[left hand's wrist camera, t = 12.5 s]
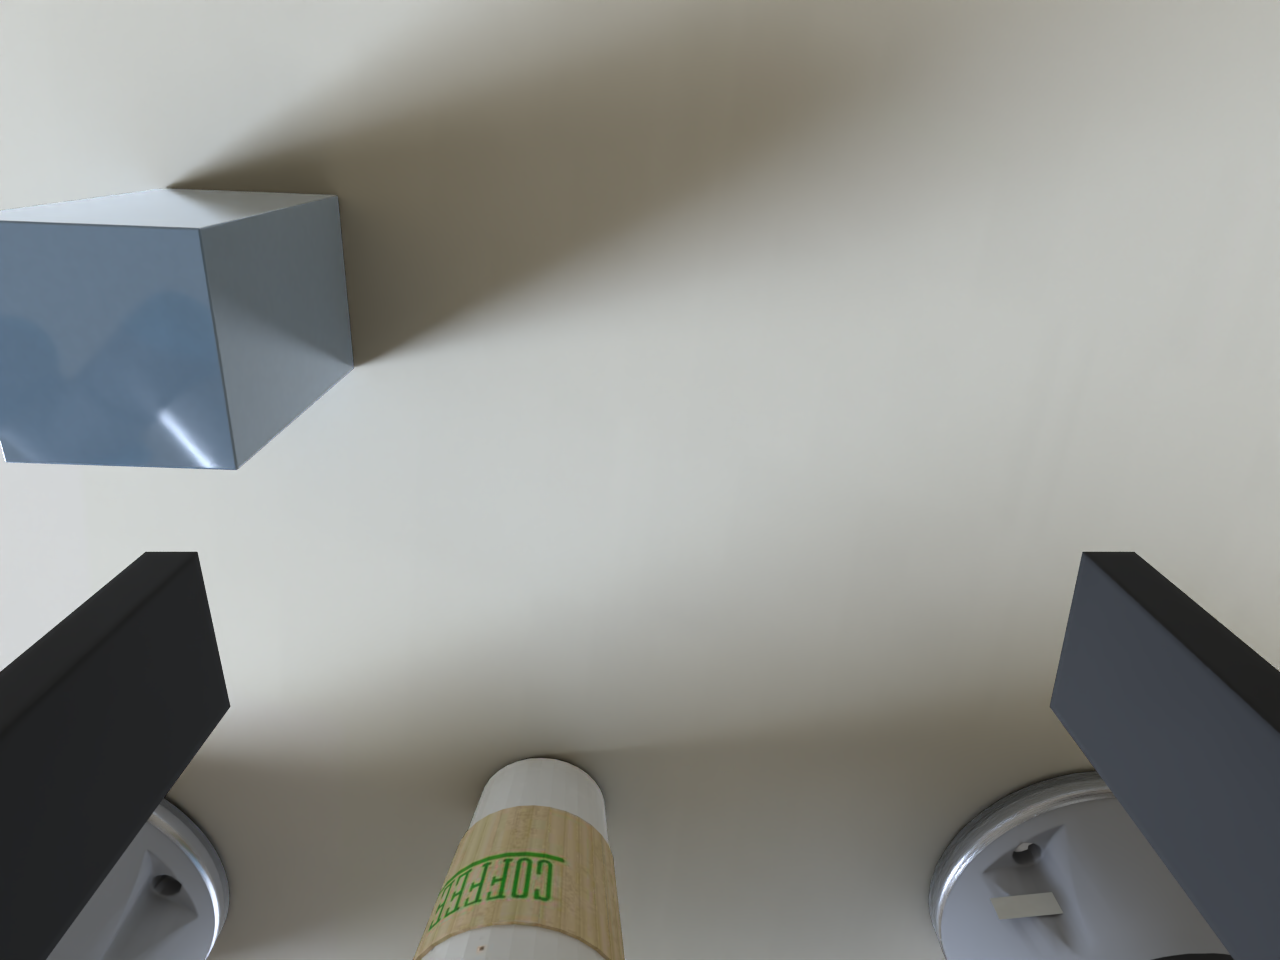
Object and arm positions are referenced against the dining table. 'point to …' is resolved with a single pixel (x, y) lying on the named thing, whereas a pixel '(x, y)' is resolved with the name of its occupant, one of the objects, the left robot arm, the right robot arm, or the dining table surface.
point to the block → (167, 325)
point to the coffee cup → (530, 873)
